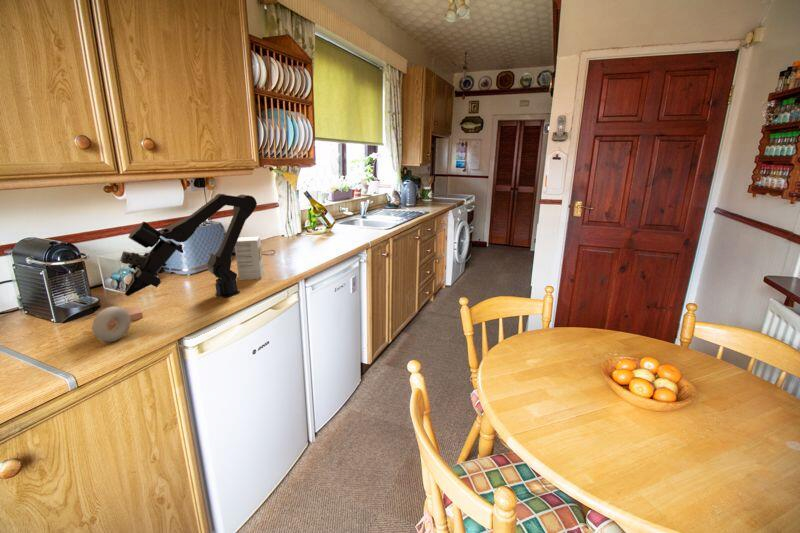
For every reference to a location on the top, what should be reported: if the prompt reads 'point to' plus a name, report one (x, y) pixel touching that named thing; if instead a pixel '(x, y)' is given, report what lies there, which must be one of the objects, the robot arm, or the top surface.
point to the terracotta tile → (130, 314)
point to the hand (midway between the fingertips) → (126, 295)
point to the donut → (104, 318)
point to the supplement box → (249, 258)
